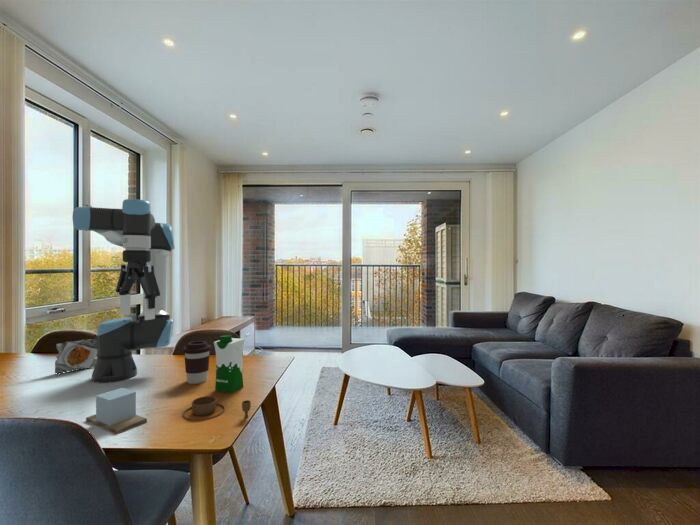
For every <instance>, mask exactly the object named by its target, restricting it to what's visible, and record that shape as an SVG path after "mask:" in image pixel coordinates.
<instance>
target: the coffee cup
mask: <svg viewBox="0 0 700 525" xmlns="http://www.w3.org/2000/svg"><path fill="white" fill-rule="evenodd" d="M211 350H212V345H211V344H208V342H207V341H204V340H197V341H196V340H195V341H190V342H188V343H187V344H186V346H184V347H183V348H182V353H183V354H184V365H185V366H184V367H185V373H186V374H185V375H186V383H188V384H190V385H194V384H201V383H204V382H207V380H208V373H209V368H210V351H211Z"/></svg>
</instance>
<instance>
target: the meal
mask: <svg viewBox="0 0 700 525" xmlns="http://www.w3.org/2000/svg"><path fill="white" fill-rule="evenodd" d="M55 346H56V349H57V351H58V353H57V354H56V355H55V356H54V357H56V360H55V361H54V374H55V373H57V374H59V373H63V372H67V371H72V370H76V369H81V368H85V369H86V368H90V369H91V368H95V365H96V362H97V358H96V357H97V338H92V339H91V338H90V339H82V340H75V341H71V340H70V341H65V342H60V343H56V344H55ZM81 370H82V369H81ZM76 371H77V370H76ZM72 372H73V371H72ZM63 374H64V373H63Z"/></svg>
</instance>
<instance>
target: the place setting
mask: <svg viewBox="0 0 700 525" xmlns="http://www.w3.org/2000/svg"><path fill="white" fill-rule="evenodd" d="M218 405H220V407H221V406H222V408H223V410H222V411H221V412H219V413H218V414H216V415H213V416H209V417H206V418H205V417H204V416H208V415H210V414H212V413H214V412H215V410H216V409H217V406H218ZM251 405H252V402H251V400H243V401H242V402H241V409H242V412H244V419H248V418H249V412H250V410H251V407H252V406H251ZM190 410H191V411H192V413H193V414H194V415H195V416H198V417H199V416H200V417H201V416H203V418H189V417H186V416H185V414H186V413H187V412H188V411H190ZM225 411H226V406H225V405H224V404H222V403H219V402H217V397H215V396H213V395H212V396H209V395H207V396H200V397H197V398H195V399H194V400H192V401H191V407H189V408H186V409H185V410H184V411H183V412H182V417H183V418H184V419H185V420H187V421H191V422H192V421H193V422H195V421H196V422H198V421H206V420H210V419H214V418H217V417H219V416H221V415H223V413H225Z"/></svg>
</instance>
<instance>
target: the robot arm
mask: <svg viewBox="0 0 700 525" xmlns="http://www.w3.org/2000/svg"><path fill="white" fill-rule="evenodd" d="M71 217H72V225H73V227H74V229H76V230H77V231H84V232H88V231H90V232H91V231H92V232H95V233H96V234H98V235H101V236H102V237H104V239H105V240H106V241H107V242H108V243H110V244H113V245H116V246H118V247H121V248H123V251H122V262H123V263H126V264H121V266H120V273H119V277H118V281H117V285H116V289H115V293H117V294H118V295H119V296H120V297H119V298H120V299H119V300H120V304H119V305H120V306H119V307H120V308H119V310H120V312H119V313H120V316H121V317H120V318H115V319H111V320H110V319H109V320H106V321H103V322H101V323H99V324H98V326H97V329H96V330H97V332H96V339H97V356H96V359H97V362H96V365H95V367H93V371H92V372H91V382H92V381H94V382H93V383H95V382H99V383H98V384H108V383H109V382H110V383H116V382H121V381H127V380H129V379H132V378H134V377H136V376H137V375H138V367H137V365H136V362H135V359H134V357H133V350H143V349H144V350H145V349H159V348H163V347H168V346H169V345H171V344H170V343H171V340H172V337H173V336H172V335H173V330H174V323H175V322H174V319H173V318H171V314H170V313H169V312H168V311H167V282H168V280H167V278H168V277H167V275H168V274H167V271H168V270H167V269H168V257H169V256H170V255H171V254H172V250H175V249H176V248H175V240H174V233H173V227H172V225H170V223H164V222H156V221H155V220H156V219H155V217H154V215H153V214H152V209H151V203H150V202H149V201H148V200H145V199H138V198H136V199H135V198H127V199H124V200H123V201H122V206H121V208H112V207H111V208H109V207H107V208H106V207H93V206H92V207H91V206H77V207H75V208H74V209H73V211H72V216H71ZM135 281H136V282H139V284H140V287H141V289H142V291H143V292H142V294H143V297H142V299H143V300H142V312H141V313H140V314H139V315H138V320H133V318H132V317H123V316H127V315H129V316H130V315H131V289H132V287H133V285H134V283H135Z"/></svg>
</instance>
